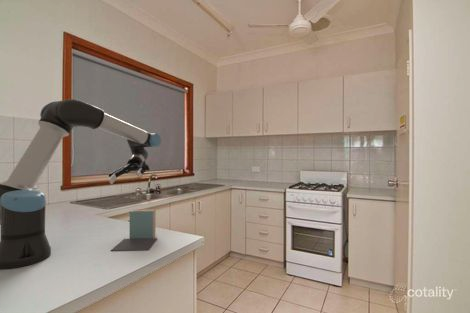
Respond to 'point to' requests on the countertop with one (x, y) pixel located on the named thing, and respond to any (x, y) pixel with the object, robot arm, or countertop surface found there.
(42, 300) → the countertop surface
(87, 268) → the countertop surface
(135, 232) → the tile
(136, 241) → the mat
